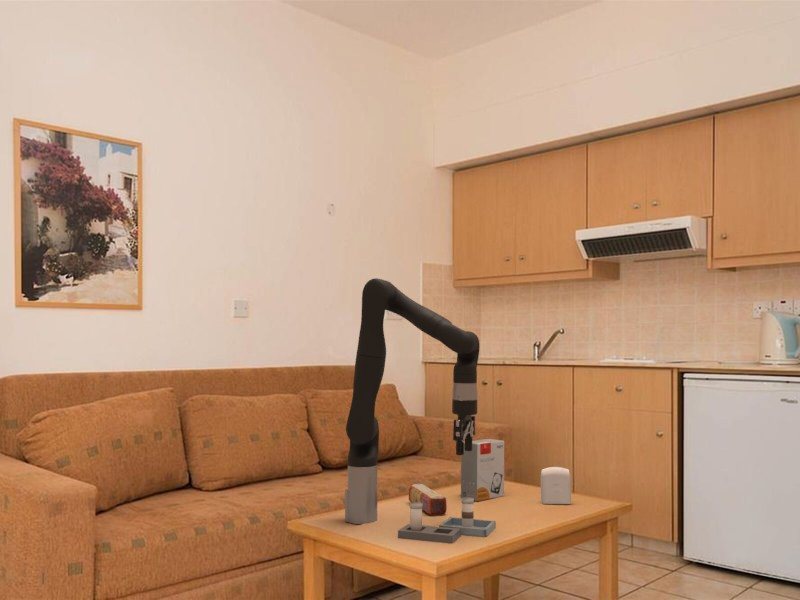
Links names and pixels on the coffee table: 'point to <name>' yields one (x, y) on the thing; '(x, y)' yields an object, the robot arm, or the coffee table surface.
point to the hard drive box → (483, 470)
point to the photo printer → (555, 486)
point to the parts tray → (480, 528)
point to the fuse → (416, 516)
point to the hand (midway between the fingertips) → (464, 452)
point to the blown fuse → (467, 512)
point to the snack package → (428, 499)
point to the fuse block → (430, 534)
